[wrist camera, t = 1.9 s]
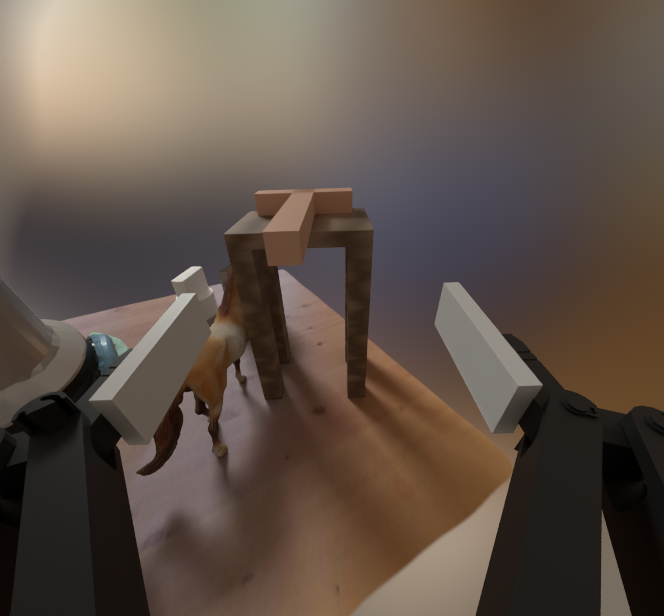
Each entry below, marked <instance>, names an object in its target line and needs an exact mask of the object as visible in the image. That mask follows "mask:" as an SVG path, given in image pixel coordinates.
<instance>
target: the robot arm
mask: <svg viewBox="0 0 664 616" xmlns="http://www.w3.org/2000/svg"><path fill="white" fill-rule="evenodd" d="M435 326H436V328H437V330H438V332H439V334H440V336H441V337H442V339H443V341H444V343H445V345H446V347H447V349H448V351H449V353H450V355H451V356H452V358H453V360H454V362H455V364H456V366H457V368H458V370H459V372H460V374H461V375H462V377H463V379H464V381H465V383H466V385H467V387H468V389H469V391H470V392H471V395H472V396H473V398H474V400H475V402H476V404H477V406H478V408H479V410H480V412H481V414H482V415H483V417H484V419H485V421H486V423H487V425H488V427H489V428H490V431H491V433H492V434H497V433H513V432H514V430H515V428H516V427H517V425H518V424H519V425H520V427H521V428H522V430H523V431H524V433H525V434H524V435H523V437H522V438H521V440H520V441H519V443H518V444H517V446H516V447H515V450H517V451H518V454H517V458H516V462H515V465H514V469H513V473H512V477H511V481H510V485H509V489H508V493H507V496H506V500H505V504H504V508H503V512H502V516H501V520H500V523H499V528H498V531H497V535H496V539H495V543H494V547H493V550H492V554H491V558H490V562H489V566H488V570H487V574H486V578H485V581H484V585H483V589H482V594H481V597H480V601H479V605H478V609H477V612H476V616H600V607H601V524H602V523H601V522H602V519H601V518H602V511H603V514H604V518H605V522H606V525H607V529H608V532H609V536H610V540H611V543H612V547H613V550H614V554H615V557H616V560H617V564H618V568H619V572H620V575H621V579H622V582H623V586H624V589H625V593H626V596H627V600H628V604H629V607H630V611H631V614H632V616H664V412H663V411H660V410H657V409H655V408H652V407H645V406H637V407H634V408H633V409H632V410H631V411H630V412H629V413H628V414H623V413H618V412H613V411H609V410H604V409H600V408H597V406H596V405H595V404H594V403H592V402H591V401H590V400H588V399H587V398H585V397H584V396H582V395H580V394H578V393H575V392H572V391H568V390H565V389H564V388H563V387H562V386H561V385H560V384H559V383H558V381H557V380H556V379H555V378H554V377H553V376H552V375H551V374H550V373H549V371H548V370H547V369H546V368H545V367H544V366H543V365H542V363H541V362H540V361H538V360H537V358H536V357H535V355H534V354H533V353H531V352H530V350H529V349H528V348H527V346H526V345H525V344H524V343H523V342H522V341H520V340H519V339H517V338H516V337H514V336H513V335H511V334H500V332H499V331H498V330H497V329H496V327H495V326H494V325H493V324H492V322H491V321H490V320H489V319H488V318H487V316H486V315H485V314H484V313H483V312H482V310H481V309H480V308H479V307H478V305H477V304H476V303H475V302H474V301H473V299H472V298H471V297H470V296H469V294H468V293H467V292H466V291H465V289H464V288H463V287H462V286H461V285H460V283H459V282H454V283H444V285H443V289H442V294H441V298H440V303H439V307H438V311H437V316H436V320H435ZM211 333H212V332H211V330H210V327H209V325H208V322H207V320H206V317H205V315H204V312H203V310H202V307H201V305H200V302H199V300H198V297H197V294H196V293H184V294H181V295H180V296H179V297H178V298H177V300H176V301H175V302H174V303H173V304H172V305H171V306H170V308H169V309H168V310H167V311H166V312H165V313H164V314H163V316H162V317H161V318H160V319H159V320H158V321H157V322H156V324H155V325H154V326H153V327H152V328H151V329H150V330H149V332H148V333H147V334H146V335H145V336H144V337H143V339H142V340H141V341H140V342H139V343H138V344H137V345H136V347H135V348H134V349H129V350H127V351H126V352H124V353H123V354H121V355H120V356H118V353H117V351H116V348H115V346H114V343H113V341H112V339H111V338H110V337H109V336H108V335H106V334H99V335H90V336H88V337H87V338H86V339H85V338H84V337H83V336H82V334H81V333H80V332H79V331H78V330H77V329H76V328H74V327H73V326H71V325H69V324H66V323H64V322H60V321H55V320H48V319H39V318H38V317H37V316H36V315H35V314H34V313H33V311H32V310H31V309H30V308H29V307H28V306H27V305H26V304H25V303H24V302H23V301H22V300H21V299H20V298H19V296H18V295H17V294H16V293H15V292H14V291H13V290H12V289H11V288H10V287H9V286H8V285H7V284H6V283H5V281H4V280H3V279H2V278H1V277H0V616H9V614H10V612H11V614H10V616H150V613H149V608H148V602H147V597H146V591H145V586H144V581H143V575H142V570H141V564H140V559H139V553H138V548H137V543H136V537H135V532H134V526H133V521H132V515H131V510H130V505H129V499H128V494H127V488H126V483H125V477H124V472H123V467H122V461H121V456H120V450H119V449H118V447H117V446H116V444H117V442H118V441H119V439H120V438H121V437H122V438H123V439H124V440H125V441H126V442H127V443H128V444H129V445H139V444H149V443H150V441H151V439H152V437H153V436H154V434H155V432H156V430H157V428H158V427H159V425H160V423H161V421H162V420H163V418H164V416H165V414H166V412H167V411H168V409H169V407H170V405H171V404H172V402H173V400H174V398H175V397H176V395H177V393H178V391H179V389H180V388H181V386H182V384H183V382H184V381H185V379H186V377H187V375H188V374H189V372H190V370H191V368H192V366H193V365H194V363H195V361H196V359H197V358H198V356H199V354H200V352H201V351H202V349H203V347H204V345H205V343H206V342H207V340H208V338H209V336H210V335H211Z"/></svg>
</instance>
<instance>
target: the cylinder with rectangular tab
mask: <svg viewBox="0 0 664 616" xmlns="http://www.w3.org/2000/svg"><path fill="white" fill-rule="evenodd" d="M172 284H173V287H174V289H175V292H176V294H177V297H176V300H177V298H178V297H179V296H180V295H181V294H184V293H196V294H197V297H198V300H199V302H200V305H201V307H202V310H203V312H204V315H205V317H206V320H209V319H211V318H213V317H214V316H215V315H216V314H217V311H218V306H217V303H216V299H215V296H214V293H213V290H212V289H211V288H209V287H208V285H207V282H206V278H205V275H204V272H203V269H202V267H190V268H189V269H188V270H186V271H185V272H183V273H182V274H181V275H179V276H178V277H176V278H175V279H173V280H172Z"/></svg>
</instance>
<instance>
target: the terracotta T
mask: <svg viewBox="0 0 664 616" xmlns="http://www.w3.org/2000/svg"><path fill="white" fill-rule="evenodd" d="M254 195H255V201H256V207H257V213H258V216H267V215H275V216H274V217H273V219H272V220H271V221H270V223H269V224H268V225H267V226H266V228H265V229H264V230H263V232H262V233H263V239H264V245H265V251H266V257H267V262H268V266H288V265H289V266H290V265H302V264H303V260H304V256H305V252H306V248H307V244H308V240H309V236H310V232H311V228H312V224H313V220H314V216H315V214H334V213H352V189H351V188H329V189H298V190H266V191H258V192H257V193H255V194H254Z"/></svg>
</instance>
